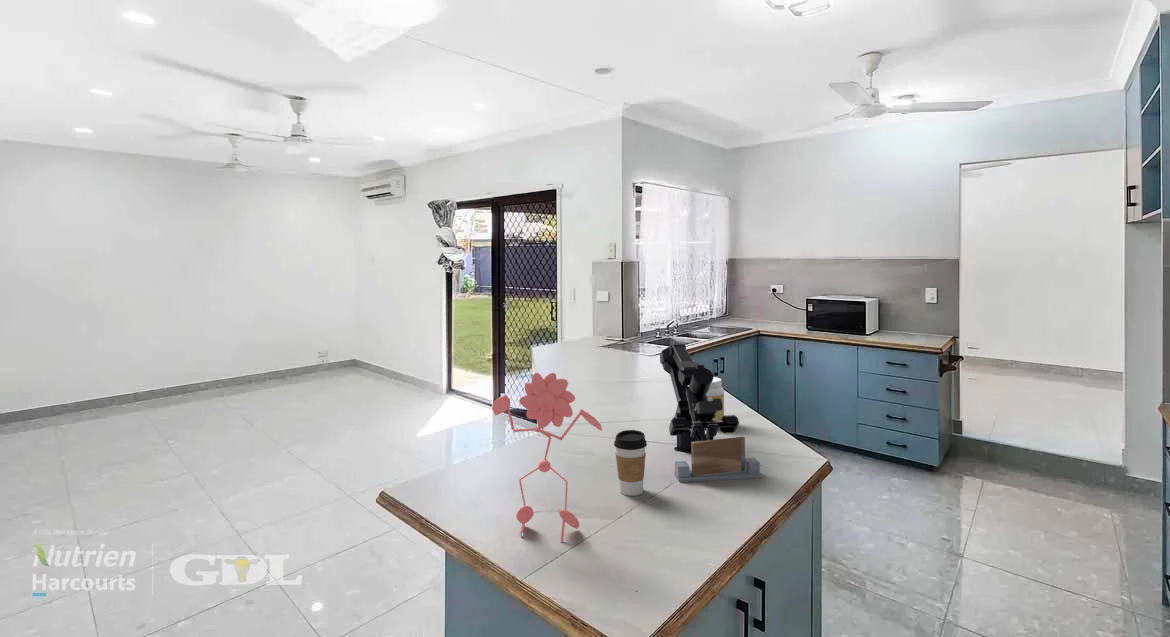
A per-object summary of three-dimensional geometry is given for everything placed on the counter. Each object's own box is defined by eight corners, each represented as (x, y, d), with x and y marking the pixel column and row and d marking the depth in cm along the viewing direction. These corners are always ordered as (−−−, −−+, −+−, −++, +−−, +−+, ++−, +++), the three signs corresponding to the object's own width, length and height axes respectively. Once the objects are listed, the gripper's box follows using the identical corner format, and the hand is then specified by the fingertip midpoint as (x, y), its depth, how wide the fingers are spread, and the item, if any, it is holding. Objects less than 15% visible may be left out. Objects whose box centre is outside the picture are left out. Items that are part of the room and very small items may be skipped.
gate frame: (674, 475, 150) (674, 460, 150) (754, 470, 151) (754, 456, 151) (678, 482, 145) (678, 467, 145) (761, 477, 146) (761, 463, 146)
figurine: (599, 548, 111) (595, 379, 109) (485, 535, 118) (479, 376, 116) (616, 517, 126) (613, 367, 124) (513, 506, 133) (508, 365, 131)
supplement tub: (688, 420, 203) (688, 375, 202) (722, 420, 201) (722, 375, 200) (690, 429, 191) (690, 382, 190) (726, 430, 189) (726, 382, 188)
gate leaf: (691, 474, 146) (690, 441, 145) (743, 468, 149) (743, 436, 149) (693, 476, 145) (693, 443, 144) (746, 470, 148) (746, 438, 147)
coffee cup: (650, 486, 142) (649, 430, 141) (643, 499, 134) (642, 440, 133) (619, 483, 145) (618, 428, 144) (611, 496, 137) (609, 438, 136)
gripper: (670, 389, 150) (680, 441, 140) (736, 386, 151) (751, 437, 141) (665, 410, 159) (674, 460, 149) (727, 407, 160) (740, 456, 150)
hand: (710, 453), depth 147 cm, fingers closed, pressing on gate leaf
